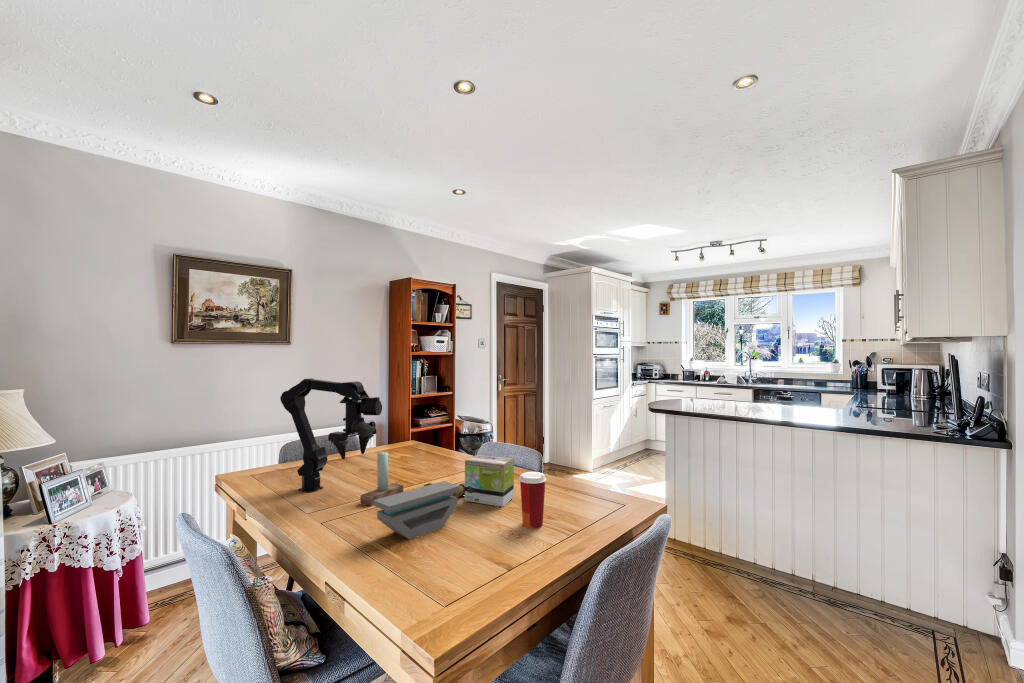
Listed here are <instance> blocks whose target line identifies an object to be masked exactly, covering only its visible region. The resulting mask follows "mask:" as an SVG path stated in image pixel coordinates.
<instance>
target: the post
mask: <svg viewBox="0 0 1024 683" xmlns="http://www.w3.org/2000/svg"><path fill="white" fill-rule="evenodd" d="M376 469H377V477H376V478H377V479H376V480H377V481H376V482H377V484H376V485H377V488H376V489H377V491H387V490H388V485H389V452H386V451H385V452H382V451H381V452H378V453H377V468H376Z"/></svg>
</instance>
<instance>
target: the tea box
mask: <svg viewBox="0 0 1024 683" xmlns="http://www.w3.org/2000/svg"><path fill="white" fill-rule="evenodd" d="M514 459H515V458H512V457H505V456H504V457H503V456H495V455H488V454H487V455H486V454H476V455H473V456H471V457H470V458H468V459H465V461H464V483H465V496H464V502H470V503H471V502H472V503H478V504H483V505H488V506H489V505H490V506H493V505H494V506H495V507H499V506H502V507H501V508H504V507H505V506H506V505H507V504H508V503H510V502H511V501H512V500H513V499H514V492H515V491H514V489H515V486H514V484H515V483H514V482H515V481H514V476H515V474H514V473H515V471H514V470H515V460H514ZM511 499H512V500H511ZM510 500H511V501H510ZM509 501H510V502H509ZM506 503H507V504H506ZM505 504H506V505H505ZM504 505H505V506H504ZM494 506H493V507H494ZM503 506H504V507H503Z"/></svg>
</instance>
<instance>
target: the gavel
mask: <svg viewBox="0 0 1024 683" xmlns="http://www.w3.org/2000/svg"><path fill="white" fill-rule="evenodd" d="M431 484H432V482H431V483H430V482H428V483H425V484H423V487H424V486H427V485H431ZM458 485H459V486H460V491H458V492H455V493H451V494H450V495H451V496H454V497H458V498H461V497H464V496H463V495H465V482H463V483H459V484H458ZM460 496H461V497H460Z"/></svg>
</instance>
